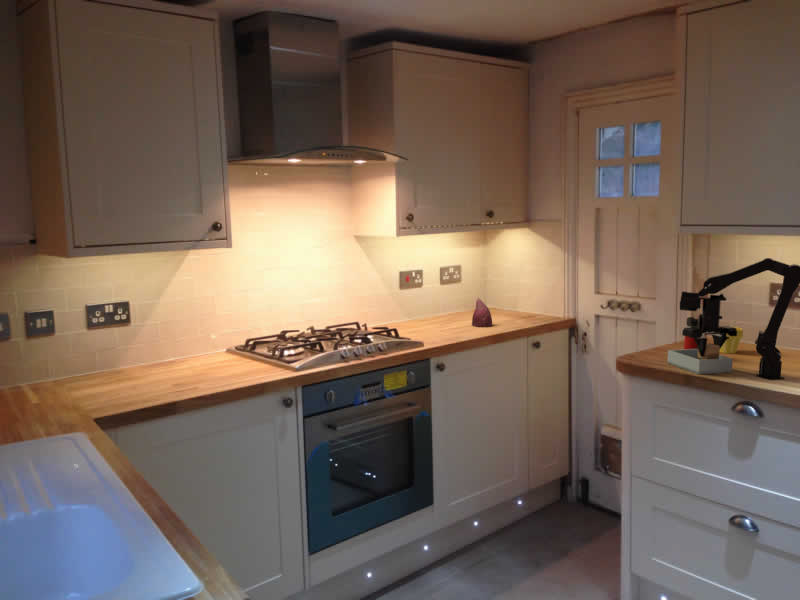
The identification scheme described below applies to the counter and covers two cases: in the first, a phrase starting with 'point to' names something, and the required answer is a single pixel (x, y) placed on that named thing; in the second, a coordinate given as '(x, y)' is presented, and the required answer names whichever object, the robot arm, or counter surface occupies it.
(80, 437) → the counter surface
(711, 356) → the walnut cube
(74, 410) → the counter surface
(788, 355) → the counter surface
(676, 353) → the tote
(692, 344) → the beverage can
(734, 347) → the plant pot
